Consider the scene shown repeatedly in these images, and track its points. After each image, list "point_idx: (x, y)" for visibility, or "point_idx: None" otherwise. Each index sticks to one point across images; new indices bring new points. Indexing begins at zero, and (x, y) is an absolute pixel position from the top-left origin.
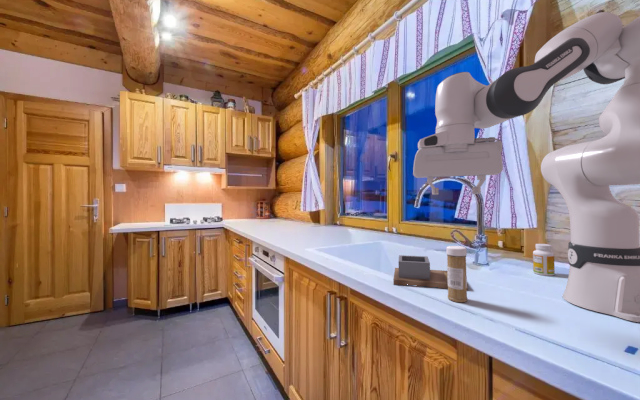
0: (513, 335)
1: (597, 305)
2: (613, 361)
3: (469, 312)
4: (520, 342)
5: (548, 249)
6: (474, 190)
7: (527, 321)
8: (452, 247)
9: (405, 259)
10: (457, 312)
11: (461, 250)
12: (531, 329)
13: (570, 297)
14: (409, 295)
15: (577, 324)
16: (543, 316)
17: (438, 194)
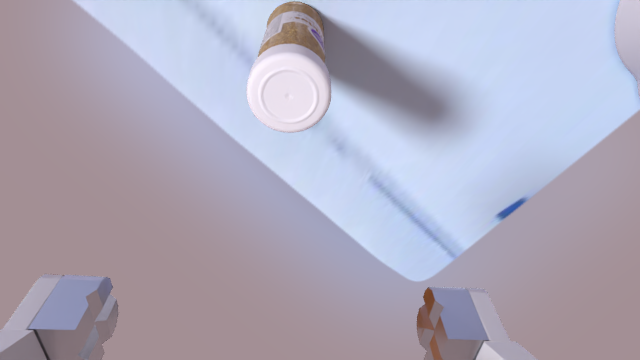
0: (353, 200)
1: (637, 66)
2: (453, 241)
3: None
4: (353, 219)
5: None
6: (427, 348)
7: (415, 141)
8: (269, 108)
9: None
10: None
11: (301, 130)
12: (400, 173)
13: (632, 5)
14: (145, 19)
15: (510, 136)
16: (469, 108)
17: (117, 309)
